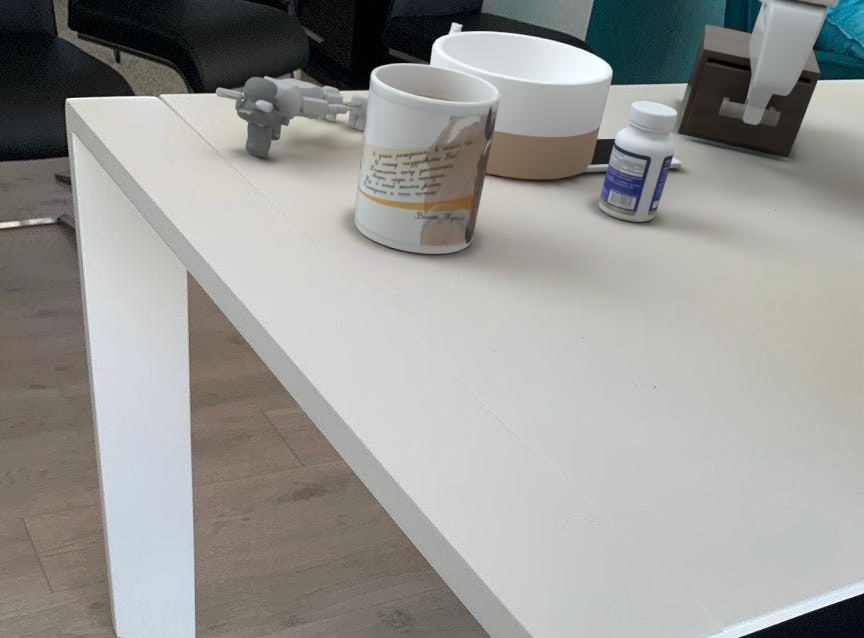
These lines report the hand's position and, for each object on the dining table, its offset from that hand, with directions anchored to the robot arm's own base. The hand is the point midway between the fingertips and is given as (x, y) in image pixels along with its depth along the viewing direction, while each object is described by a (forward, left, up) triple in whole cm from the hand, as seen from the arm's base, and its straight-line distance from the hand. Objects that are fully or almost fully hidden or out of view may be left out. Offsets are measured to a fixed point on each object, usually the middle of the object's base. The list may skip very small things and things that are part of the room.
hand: (749, 120), depth 106 cm
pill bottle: (+10, +23, -5) cm, 25 cm away
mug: (+26, +38, -5) cm, 46 cm away
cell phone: (+14, +9, -5) cm, 17 cm away
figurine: (+41, +24, -5) cm, 48 cm away
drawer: (0, -10, -4) cm, 11 cm away
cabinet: (0, -15, -5) cm, 16 cm away
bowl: (+23, +13, -4) cm, 27 cm away
